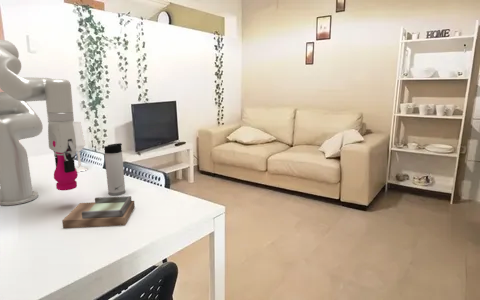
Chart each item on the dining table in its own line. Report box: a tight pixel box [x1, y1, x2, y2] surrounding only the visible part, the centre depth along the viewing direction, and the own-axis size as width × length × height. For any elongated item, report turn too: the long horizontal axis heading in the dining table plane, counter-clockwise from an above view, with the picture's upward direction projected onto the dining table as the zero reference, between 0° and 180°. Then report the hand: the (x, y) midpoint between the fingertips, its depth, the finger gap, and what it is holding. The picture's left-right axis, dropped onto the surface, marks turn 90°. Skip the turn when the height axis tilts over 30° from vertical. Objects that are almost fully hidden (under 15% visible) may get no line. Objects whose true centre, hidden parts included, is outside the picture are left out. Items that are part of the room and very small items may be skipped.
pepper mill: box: [53, 141, 78, 191], centre depth 108 cm, size 7×7×20 cm
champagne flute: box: [73, 121, 88, 173], centre depth 154 cm, size 7×7×24 cm
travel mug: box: [103, 142, 126, 197], centre depth 123 cm, size 6×7×20 cm
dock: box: [61, 195, 135, 229], centre depth 102 cm, size 18×14×4 cm
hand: (65, 169), depth 108 cm, fingers closed on pepper mill, 5 cm apart
